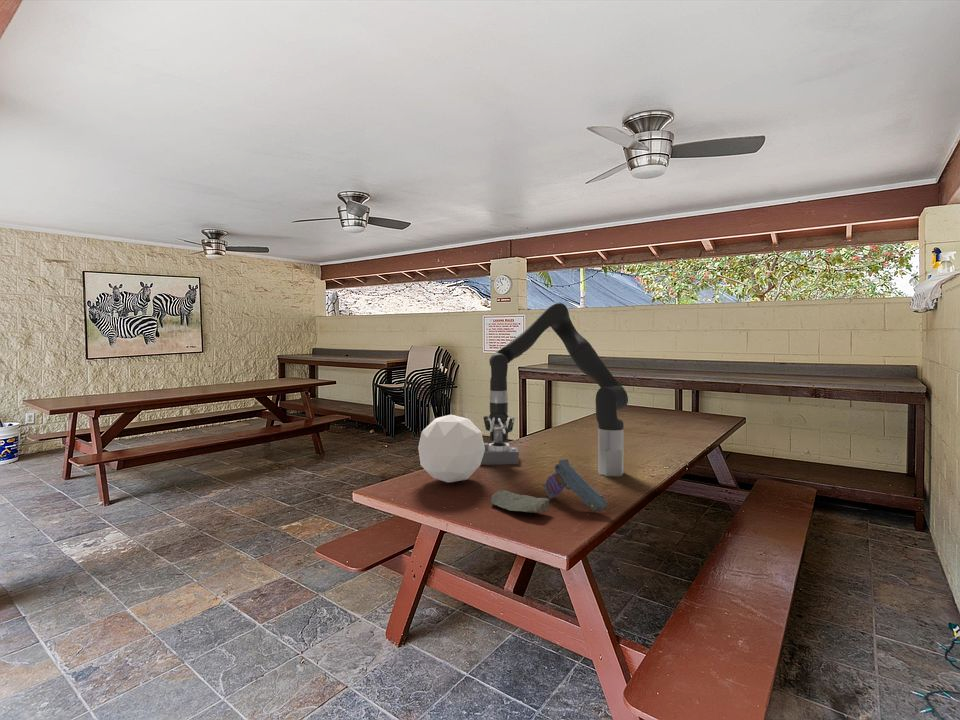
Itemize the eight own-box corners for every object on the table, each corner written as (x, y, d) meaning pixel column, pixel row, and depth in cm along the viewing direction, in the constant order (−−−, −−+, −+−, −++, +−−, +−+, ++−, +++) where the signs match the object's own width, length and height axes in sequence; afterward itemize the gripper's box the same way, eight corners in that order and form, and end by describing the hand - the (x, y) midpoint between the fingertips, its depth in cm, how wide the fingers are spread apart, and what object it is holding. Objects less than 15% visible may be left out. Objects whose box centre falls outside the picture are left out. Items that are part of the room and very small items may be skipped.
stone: (481, 501, 158) (501, 487, 165) (484, 512, 158) (504, 497, 165) (534, 511, 143) (553, 494, 150) (537, 522, 143) (556, 505, 150)
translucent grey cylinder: (507, 446, 209) (507, 422, 208) (501, 449, 205) (501, 424, 204) (496, 445, 212) (496, 421, 211) (490, 447, 207) (490, 423, 207)
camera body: (518, 466, 203) (518, 446, 203) (479, 466, 204) (479, 446, 203) (517, 460, 214) (517, 440, 214) (480, 460, 214) (480, 441, 214)
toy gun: (545, 486, 166) (564, 453, 160) (590, 534, 154) (612, 500, 147) (539, 488, 164) (558, 454, 158) (583, 537, 151) (605, 502, 145)
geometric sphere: (453, 469, 199) (452, 407, 198) (498, 482, 181) (498, 414, 180) (404, 482, 182) (403, 414, 181) (449, 497, 165) (448, 422, 164)
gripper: (518, 401, 207) (518, 441, 208) (488, 399, 214) (488, 438, 215) (509, 403, 200) (510, 445, 201) (479, 401, 208) (479, 441, 209)
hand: (498, 441), depth 208 cm, fingers closed on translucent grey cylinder, 5 cm apart
